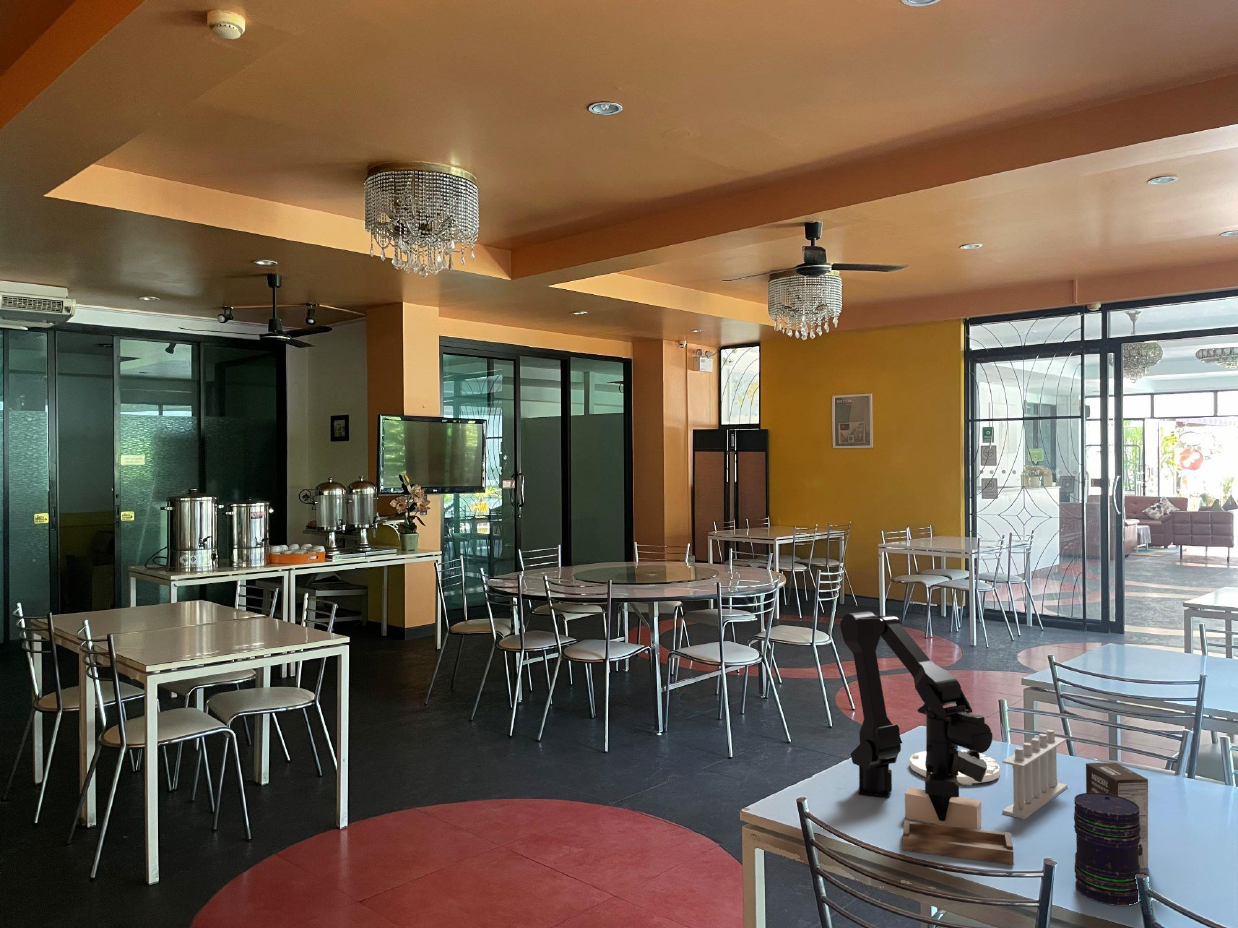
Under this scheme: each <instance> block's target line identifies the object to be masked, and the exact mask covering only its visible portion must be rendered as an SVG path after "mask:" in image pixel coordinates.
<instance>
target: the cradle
mask: <svg viewBox="0 0 1238 928" xmlns="http://www.w3.org/2000/svg"><path fill="white" fill-rule="evenodd" d="M902 834H903V835H902V836H903V837H902V845H903V846H902V848H903V849H902V850H903V851H906V852H908V851H909V852H915V853H923V854H930V855H939V856H945V857H946V856H947V857H954V858H959V859H968V860H969V859H970V860H977V861H982V862H983V861H984V862H991V863H992V862H993V863H999V864H1007V865H1014V857H1015V855H1014V845H1013V841H1012V836H1011V832H1006V831H1004V832H1001V831H1000V832H999V831H992V830H984V829H979V830H977V829H969V828H960V827H952V826H943V825H938V824H933V823H928V822H924V823H923V822H917V821H910V820H906V819H904V820H903V833H902Z"/></svg>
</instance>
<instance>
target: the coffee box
mask: <svg viewBox="0 0 1238 928" xmlns="http://www.w3.org/2000/svg"><path fill="white" fill-rule="evenodd" d="M1085 789H1086V790H1085V793H1103V794H1110V795H1115V796H1119V797H1122V798H1125V799H1128V800H1130V801H1132V802H1134V803H1136V804H1137V805H1138V806H1139V817H1140V837H1141V838H1140V842H1139V844H1138V863H1139V864H1140V869H1148V868H1149V779H1148V778H1147V777H1144V776H1142V775H1141V774H1139V773H1136V772H1135V771H1133V770H1131V769H1129V768H1128V767H1125V766H1124V765H1121V764H1120V763H1118V762H1089V763H1087V762H1086V763H1085Z"/></svg>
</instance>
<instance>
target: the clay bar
mask: <svg viewBox="0 0 1238 928" xmlns="http://www.w3.org/2000/svg"><path fill="white" fill-rule="evenodd" d="M904 818H905V819H908V820H915V821H919V822H922V823H923V822H924V823H927V824H935V825H943V826H952V827H960V828H969V829H977V830H981V828H982V800H980V799H974V798H969V797H963V796H959V797H951V798H950V801H949V805H948V809H947V814H946V819H945V821H940V820H939V819H938V816H937V814H936V812H935V809H934V807H933V805H932V802H931V800H930V798H929V795H928V794H926V793H925V789H920V788H915V787H909V788H908V789H907V790H906V791H905V792H904Z"/></svg>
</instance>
